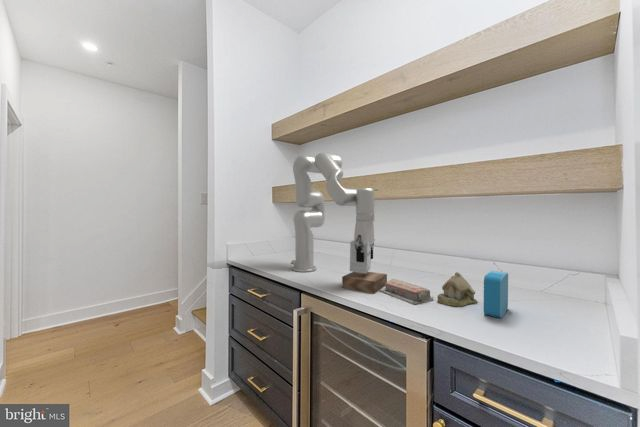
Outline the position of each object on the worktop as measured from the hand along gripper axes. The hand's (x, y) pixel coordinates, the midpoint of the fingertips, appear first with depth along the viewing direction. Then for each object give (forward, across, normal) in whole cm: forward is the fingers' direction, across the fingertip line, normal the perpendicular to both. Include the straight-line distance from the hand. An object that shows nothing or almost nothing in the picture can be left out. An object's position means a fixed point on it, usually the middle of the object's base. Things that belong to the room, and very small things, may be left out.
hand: (364, 260), depth 113 cm
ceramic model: (+11, -2, +34) cm, 36 cm away
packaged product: (+12, +2, +18) cm, 21 cm away
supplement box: (+5, 0, -2) cm, 5 cm away
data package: (+11, +2, +46) cm, 47 cm away
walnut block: (+11, 0, 0) cm, 11 cm away
